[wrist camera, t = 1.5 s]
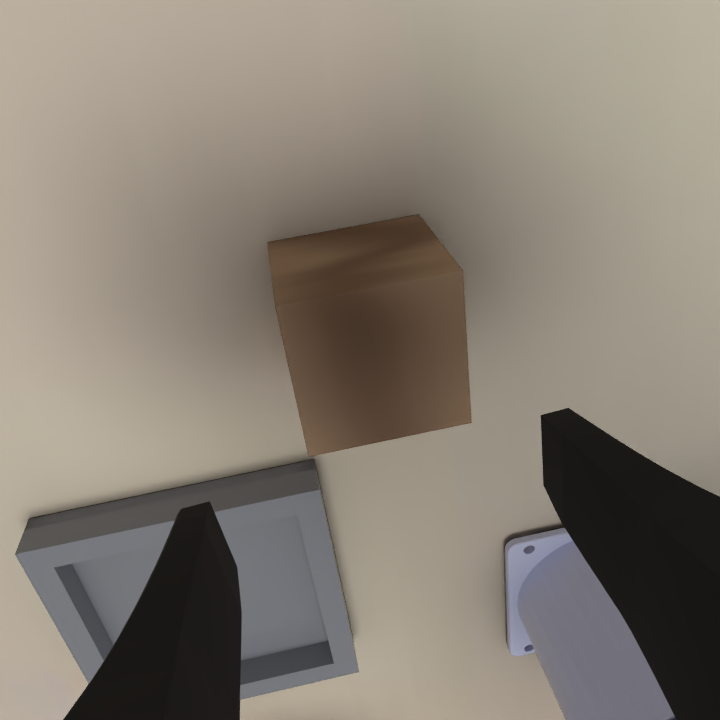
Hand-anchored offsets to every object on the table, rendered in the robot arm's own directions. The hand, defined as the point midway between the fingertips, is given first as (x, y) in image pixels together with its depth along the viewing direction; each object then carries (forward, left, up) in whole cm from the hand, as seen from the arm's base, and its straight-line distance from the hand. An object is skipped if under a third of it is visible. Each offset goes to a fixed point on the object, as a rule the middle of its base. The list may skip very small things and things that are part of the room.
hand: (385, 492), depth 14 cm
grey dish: (+7, +12, -10) cm, 17 cm away
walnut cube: (-1, 0, -10) cm, 10 cm away
